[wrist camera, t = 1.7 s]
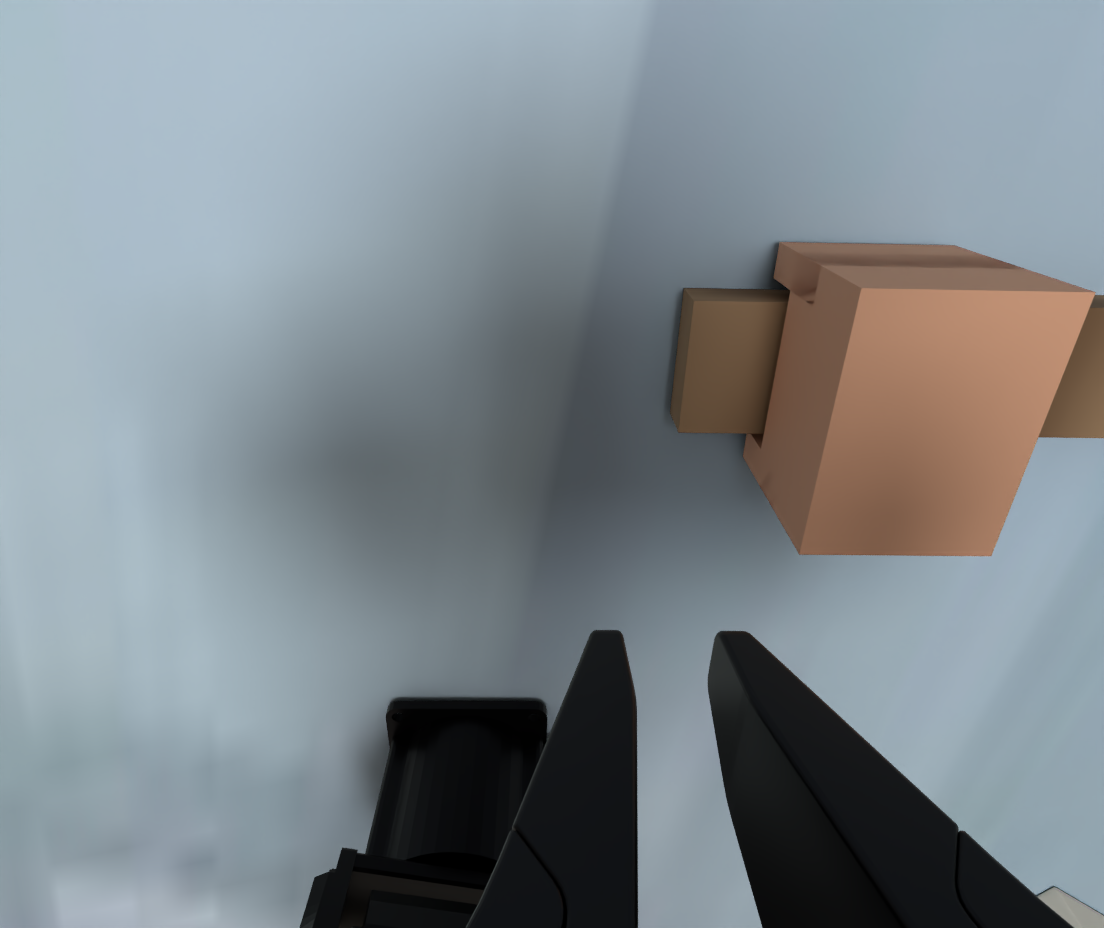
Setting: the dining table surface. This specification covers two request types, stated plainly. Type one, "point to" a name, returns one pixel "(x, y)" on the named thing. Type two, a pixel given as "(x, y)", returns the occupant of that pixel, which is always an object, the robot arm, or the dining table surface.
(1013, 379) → the block
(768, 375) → the rail
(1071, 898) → the milk
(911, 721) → the dining table surface
